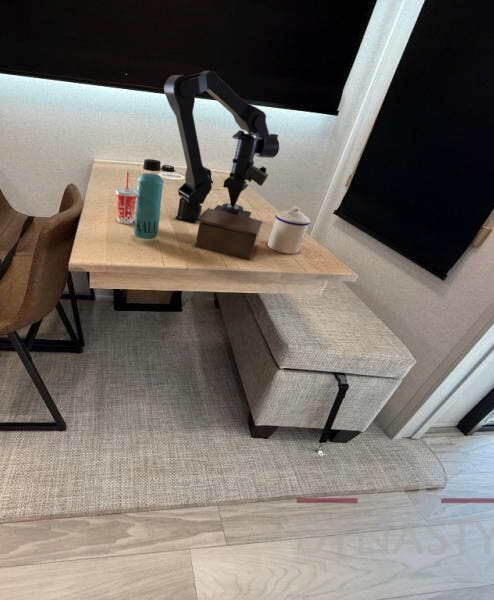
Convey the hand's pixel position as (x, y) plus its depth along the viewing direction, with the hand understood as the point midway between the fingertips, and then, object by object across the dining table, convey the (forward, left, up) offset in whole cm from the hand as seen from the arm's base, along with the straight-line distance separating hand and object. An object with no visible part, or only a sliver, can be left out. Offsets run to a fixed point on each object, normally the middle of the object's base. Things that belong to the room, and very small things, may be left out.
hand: (232, 206), depth 110 cm
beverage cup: (-27, -26, -4) cm, 38 cm away
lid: (+4, -26, +2) cm, 26 cm away
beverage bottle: (-16, -36, -4) cm, 40 cm away
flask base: (0, 0, -4) cm, 4 cm away
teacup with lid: (+18, -16, -4) cm, 24 cm away
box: (+4, -26, -4) cm, 27 cm away
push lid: (0, 0, -2) cm, 2 cm away
